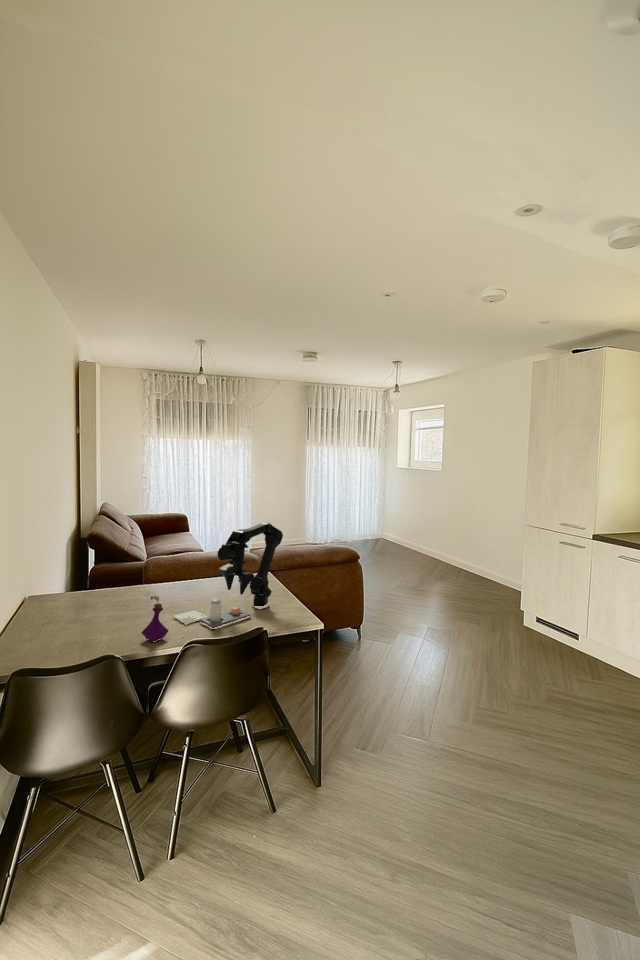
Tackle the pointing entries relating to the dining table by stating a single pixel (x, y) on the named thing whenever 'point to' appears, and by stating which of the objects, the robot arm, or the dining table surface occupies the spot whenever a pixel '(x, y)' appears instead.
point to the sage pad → (190, 615)
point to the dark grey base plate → (224, 618)
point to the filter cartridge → (215, 610)
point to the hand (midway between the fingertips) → (235, 592)
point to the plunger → (235, 611)
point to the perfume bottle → (155, 624)
